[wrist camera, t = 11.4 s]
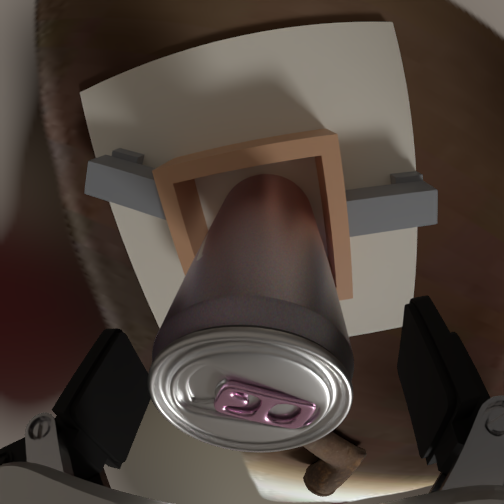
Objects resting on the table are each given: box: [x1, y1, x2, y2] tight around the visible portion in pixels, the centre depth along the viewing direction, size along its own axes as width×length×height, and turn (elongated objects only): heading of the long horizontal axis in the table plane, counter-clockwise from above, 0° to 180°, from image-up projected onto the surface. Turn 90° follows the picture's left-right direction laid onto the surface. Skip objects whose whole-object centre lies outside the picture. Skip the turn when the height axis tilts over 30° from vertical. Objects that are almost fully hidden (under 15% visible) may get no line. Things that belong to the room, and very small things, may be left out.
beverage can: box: [148, 174, 354, 452], centre depth 14 cm, size 6×6×15 cm
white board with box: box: [80, 22, 438, 336], centre depth 19 cm, size 22×24×5 cm
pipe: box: [303, 431, 366, 496], centre depth 34 cm, size 6×17×10 cm
